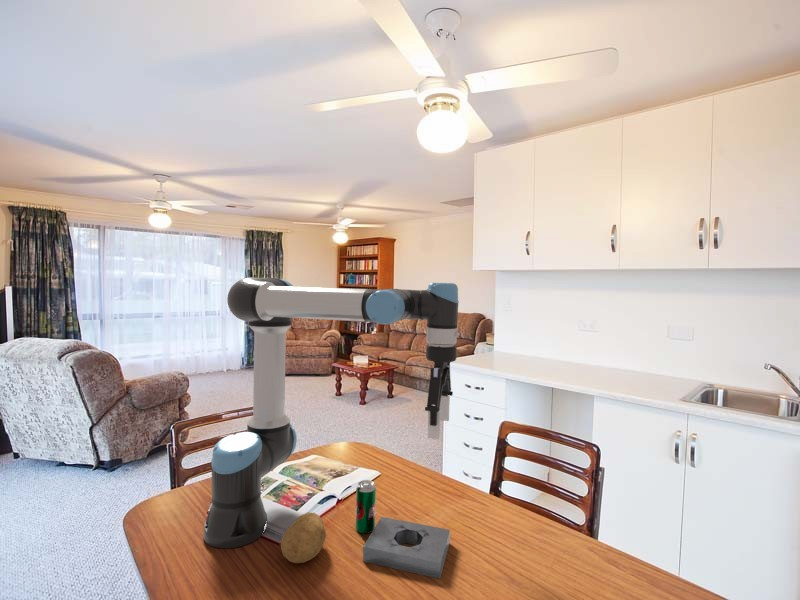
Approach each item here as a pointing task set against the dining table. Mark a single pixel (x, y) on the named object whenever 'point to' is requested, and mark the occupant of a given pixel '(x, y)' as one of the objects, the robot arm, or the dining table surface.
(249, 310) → the robot arm
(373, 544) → the plate
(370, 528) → the soda can
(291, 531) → the potato
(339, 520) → the dining table surface
